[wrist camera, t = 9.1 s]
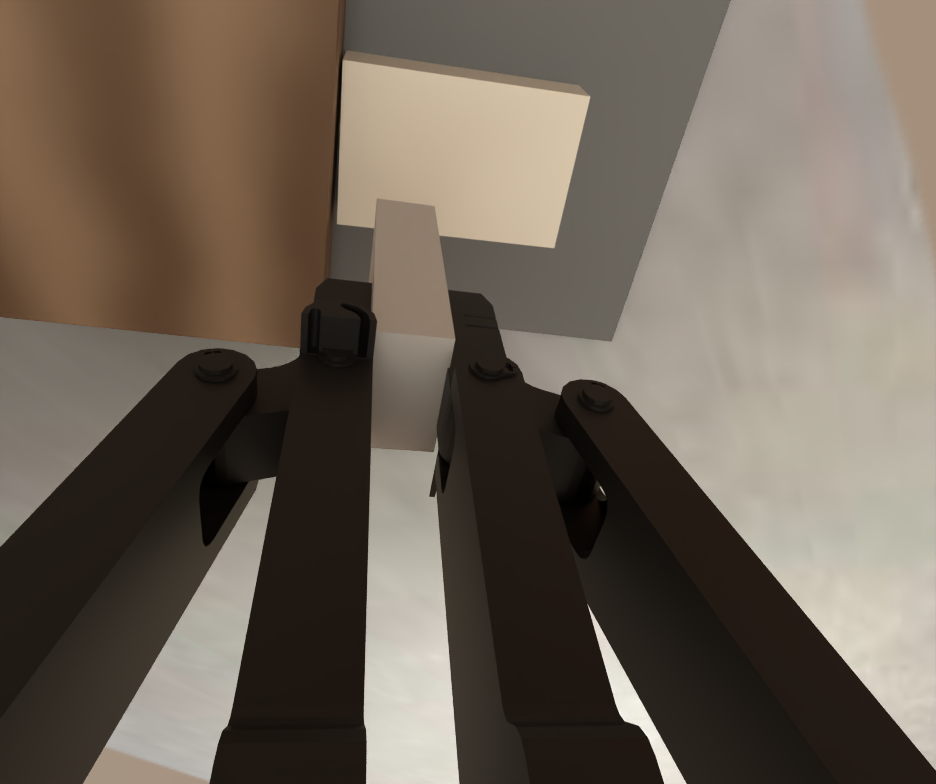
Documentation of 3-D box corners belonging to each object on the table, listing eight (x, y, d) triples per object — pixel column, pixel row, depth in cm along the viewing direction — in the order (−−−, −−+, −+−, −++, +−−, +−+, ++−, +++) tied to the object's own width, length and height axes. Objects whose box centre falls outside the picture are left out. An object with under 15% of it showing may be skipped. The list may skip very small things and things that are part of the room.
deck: (3, 267, 29) (-48, 311, 26) (-118, -220, 20) (-221, -247, 16) (328, 304, 31) (320, 350, 28) (353, -117, 22) (344, -123, 19)
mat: (328, 304, 31) (327, 309, 31) (353, -117, 22) (353, -117, 22) (609, 337, 33) (611, 341, 33) (737, -33, 24) (741, -32, 24)
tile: (340, 206, 28) (336, 224, 26) (346, 50, 25) (342, 59, 23) (545, 230, 29) (554, 248, 28) (578, 85, 26) (590, 96, 24)
